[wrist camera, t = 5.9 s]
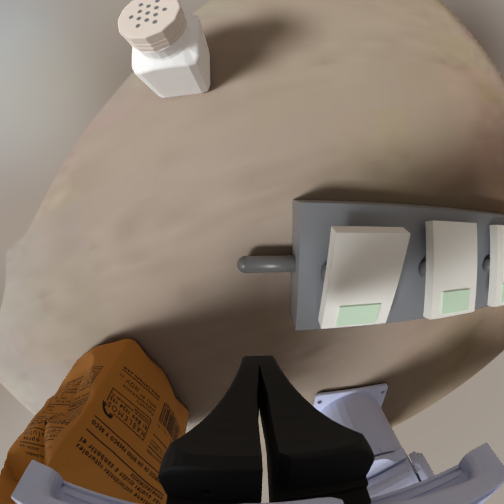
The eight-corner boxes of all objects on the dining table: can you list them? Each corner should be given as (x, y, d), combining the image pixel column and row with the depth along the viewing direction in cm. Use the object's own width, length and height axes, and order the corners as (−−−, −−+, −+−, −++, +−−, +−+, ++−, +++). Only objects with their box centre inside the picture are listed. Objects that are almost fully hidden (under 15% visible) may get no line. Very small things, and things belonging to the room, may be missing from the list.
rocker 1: (376, 306, 20) (386, 324, 18) (315, 310, 20) (321, 330, 18) (395, 221, 17) (411, 234, 15) (326, 219, 17) (336, 233, 15)
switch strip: (490, 292, 23) (507, 302, 20) (239, 313, 23) (238, 332, 20) (503, 213, 21) (521, 217, 18) (236, 199, 21) (235, 202, 18)
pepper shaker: (210, 50, 18) (190, -21, 8) (211, 94, 19) (187, 36, 9) (160, 57, 18) (115, -4, 8) (159, 101, 19) (105, 54, 9)
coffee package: (131, 431, 26) (80, 582, 5) (69, 349, 24) (-46, 500, 2) (204, 420, 26) (181, 612, 4) (142, 326, 23) (16, 557, 2)
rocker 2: (459, 307, 19) (475, 311, 17) (416, 313, 19) (431, 319, 17) (461, 224, 19) (477, 222, 17) (417, 222, 19) (434, 220, 17)
